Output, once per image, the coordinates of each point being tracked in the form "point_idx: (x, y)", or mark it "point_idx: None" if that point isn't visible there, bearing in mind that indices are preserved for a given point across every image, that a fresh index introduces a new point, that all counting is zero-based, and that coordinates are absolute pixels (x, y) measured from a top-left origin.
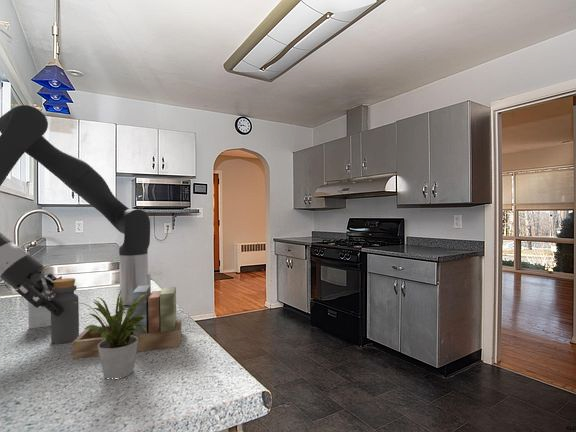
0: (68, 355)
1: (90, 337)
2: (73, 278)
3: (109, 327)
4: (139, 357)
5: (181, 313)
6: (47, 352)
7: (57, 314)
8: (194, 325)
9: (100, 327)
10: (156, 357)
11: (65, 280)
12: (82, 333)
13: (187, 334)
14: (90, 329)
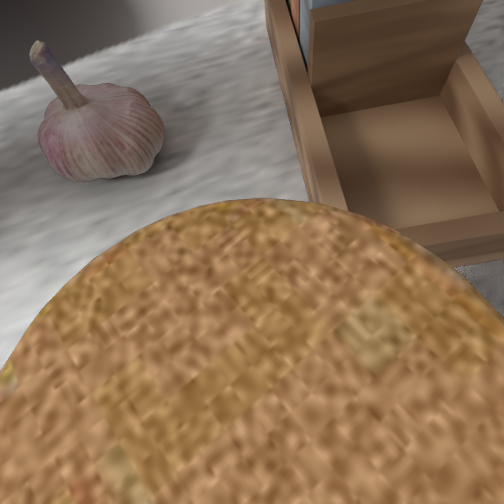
0: (493, 291)
1: None
2: (59, 300)
3: (332, 166)
4: (481, 61)
5: (41, 78)
6: None
7: None
8: (200, 14)
9: (342, 197)
10: (475, 25)
11: (356, 360)
12: (444, 235)
13: None
14: None
